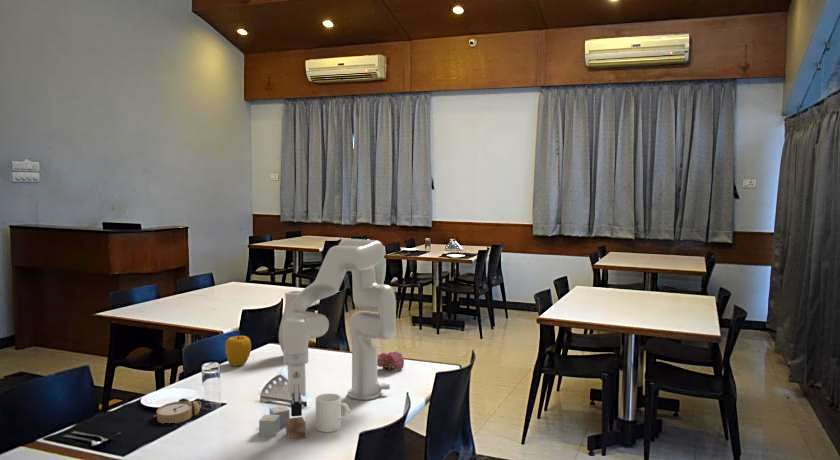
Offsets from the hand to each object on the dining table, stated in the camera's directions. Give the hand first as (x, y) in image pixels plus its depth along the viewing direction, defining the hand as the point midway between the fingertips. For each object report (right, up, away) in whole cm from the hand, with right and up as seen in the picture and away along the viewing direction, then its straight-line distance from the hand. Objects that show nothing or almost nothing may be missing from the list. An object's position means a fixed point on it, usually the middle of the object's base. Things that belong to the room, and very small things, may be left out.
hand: (296, 415), depth 188 cm
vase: (-19, -1, +88) cm, 90 cm away
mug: (+11, -7, +7) cm, 14 cm away
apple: (-41, -1, +75) cm, 85 cm away
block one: (-9, -6, +2) cm, 11 cm away
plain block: (0, -7, 0) cm, 7 cm away
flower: (+26, -3, +71) cm, 75 cm away
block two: (-8, -6, +10) cm, 14 cm away
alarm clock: (-42, -5, +15) cm, 45 cm away
